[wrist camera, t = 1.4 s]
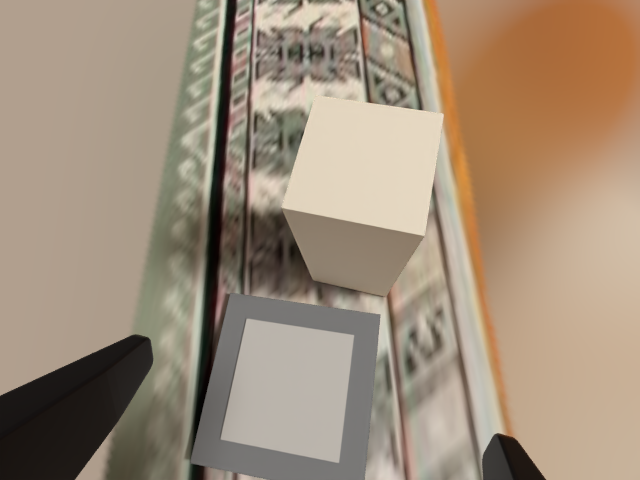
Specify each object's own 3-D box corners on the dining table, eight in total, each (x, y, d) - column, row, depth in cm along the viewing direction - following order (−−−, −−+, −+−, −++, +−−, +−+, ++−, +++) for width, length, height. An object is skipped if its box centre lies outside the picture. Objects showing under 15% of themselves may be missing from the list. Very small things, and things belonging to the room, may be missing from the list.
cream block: (385, 296, 23) (424, 236, 11) (313, 280, 23) (281, 207, 12) (398, 228, 24) (443, 114, 13) (329, 214, 25) (315, 95, 14)
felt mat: (362, 495, 19) (362, 500, 18) (194, 460, 20) (189, 463, 20) (379, 315, 22) (380, 314, 22) (233, 294, 23) (230, 292, 23)
